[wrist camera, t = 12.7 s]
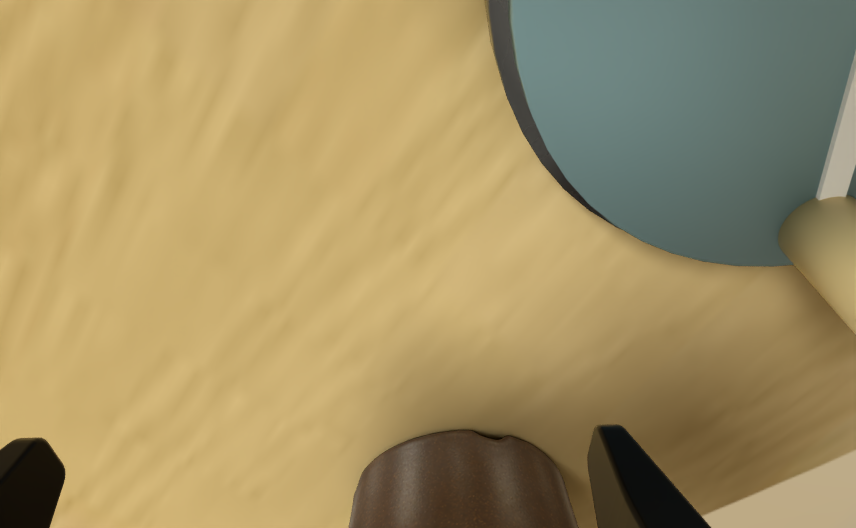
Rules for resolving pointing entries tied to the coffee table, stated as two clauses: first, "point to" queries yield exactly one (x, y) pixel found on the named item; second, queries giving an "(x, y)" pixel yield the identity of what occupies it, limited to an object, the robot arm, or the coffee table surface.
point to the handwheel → (705, 125)
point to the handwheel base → (521, 93)
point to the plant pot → (462, 485)
